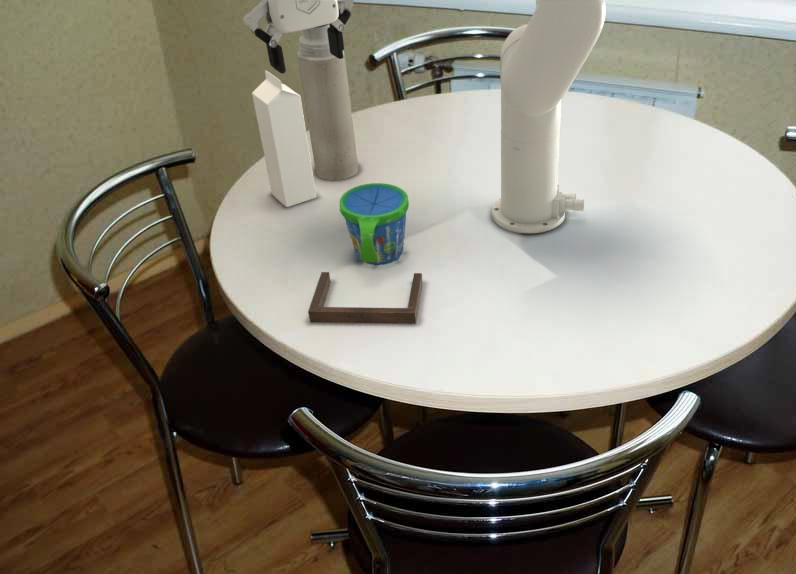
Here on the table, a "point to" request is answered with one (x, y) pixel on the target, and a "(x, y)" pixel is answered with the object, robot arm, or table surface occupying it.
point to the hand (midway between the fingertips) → (308, 63)
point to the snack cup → (376, 221)
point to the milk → (284, 141)
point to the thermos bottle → (327, 106)
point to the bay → (363, 314)
